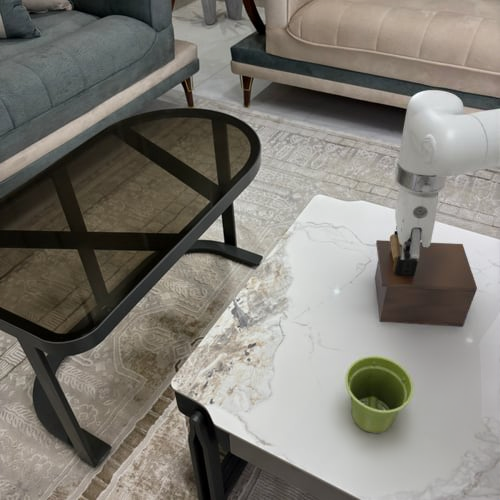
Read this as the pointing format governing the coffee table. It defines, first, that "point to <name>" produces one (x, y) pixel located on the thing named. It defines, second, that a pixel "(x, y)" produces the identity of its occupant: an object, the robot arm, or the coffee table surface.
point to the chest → (422, 305)
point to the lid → (427, 267)
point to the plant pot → (377, 392)
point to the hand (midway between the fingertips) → (402, 261)
